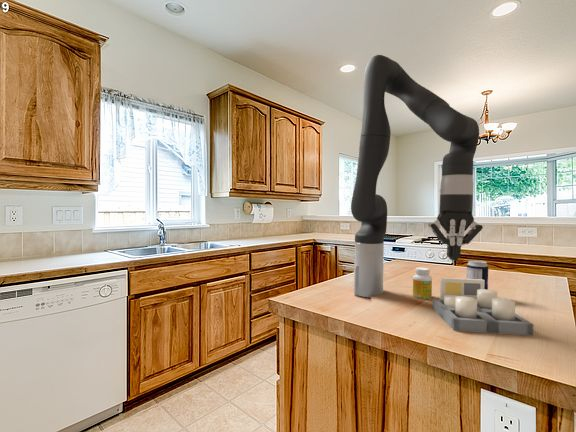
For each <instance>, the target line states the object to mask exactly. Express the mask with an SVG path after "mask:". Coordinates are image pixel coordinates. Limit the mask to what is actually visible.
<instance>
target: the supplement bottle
mask: <svg viewBox="0 0 576 432" xmlns="http://www.w3.org/2000/svg"><path fill="white" fill-rule="evenodd" d="M432 282H433V280H432V276H430V269H429V268H426V267H416V268H415V274H414V275H413V276H412V297H414V298H417V299H421V300H430V299H432V293H433V291H432V290H433V289H432V287H433V286H432V284H433V283H432Z"/></svg>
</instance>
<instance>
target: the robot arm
mask: <svg viewBox="0 0 576 432" xmlns="http://www.w3.org/2000/svg"><path fill="white" fill-rule="evenodd" d="M364 69H365V70H364V73H363V105H362V106H363V109H362V118H361V119H362V121H361V131H360V139H359V150H358V162H357V167H356V168H357V169H356V178H355V182H354V188H353V192H352V198H351V201H350V204H351V205H350V213H351V215H352V216H353V218H354V219H355V220H356V221H358V222H360V223H361V226H360V229H359V230H358V231H357V232H355V235H354V263H353V292H354V293H353V294H354V296H358V297H362V298H371V296H380V295H382V294H384V257H385V256H384V250H385V249H384V248H385V246H384V245H385V244H384V239H385V236H386V234H387V226H388V225H387V224H388V205H387V201H386V200H385V198H384V197H383V196H382V195H380V194H377V186H378V185H377V184H378V179H379V175H380V173H381V171H382V168H383V167H384V165H385V162H386V161H387V158H388V155H389V151H390V144H391V142H390V141H391V125H390V121H389V118H388V114H387V110H386V106H385V93H388V94H389V95H392V96H394V97H396V98H398V99H399V100H400V101H402V102H403V103H404V104H405V105H406V107H407V108H408V110H410V111H411V113H412V114H414V115H415V116H416V117H418V119H420V120H421V121H422V122H424V123H426V124H427V125H428V126H429V127H430V128H431V129H432V131H433V132H434V133H435V134H436V135H437V136H439V137H440V138H441V139H443V140H444V141H446V142H449V143H450V146H449V151H448V153H446V154H445V155H444V156H443V157H442V165H441V166H442V167H441V181H440V186H439V187H440V188H439V213H438V215H437V216H436V217H437V218H436V220H434V221H433V222H429V223H428V225H427V227H429V229H430V230H431V231H432V233H433V234H434V236H436V238H437V239H438V240H439V242H441V243H443V244H446V256H447V258H448V259H449V260H451V261H458V259H460V258H461V254H462V253H461V252H462V248H461V247H462V246H463V245H468V244H470V243H471V242H472V241H473V239H474V238H475V237H476V236H477V235H478V234H479V233H480V232H481V231H482V230H483V228H484V226H483V225H482V224H479V223H477V222H476V221H475V218H474V216H473V209H474V208H473V207H474V177H473V176H474V175H473V174H474V156H475V153H476V152H477V146H478V143H479V139H480V138H479V137H480V127H479V124H478V123H479V122H477V121H476V120H475V118H472V117H470V116H468V115H466V114H463V113H461V112H459V111H458V110H456V109H455V108H453V107H451V106H450V104H449V103H448V102H447V101H446V100H445V99H443V98H442V97H440V96H439V95H438V94H436V93H434V92H433V91H432V90H430V89H428V88H427V87H424V86H422V84H419V83H418V82H417V81H416V80H414V79H413V78H412V77H411V76H410V75H409V73H407V72H406V70H405V69H404V68H403V67H402V66H401V65H400V64H399V62H397V61H395V60H393V59H391V58H390V57H388V56H385V55H384V54H383V55H382V54H376V55H374V56H372V57H371V58H370V59H369V61H368V62H367V64H366V66H365V68H364ZM441 228H442V229H443V230H444V232H445V234H444V233H443V231H441V230H440V229H441ZM468 228H469V230H468V232H466V231H467V229H468ZM465 232H466V233H465Z"/></svg>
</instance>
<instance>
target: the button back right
mask: <svg viewBox="0 0 576 432" xmlns="http://www.w3.org/2000/svg"><path fill="white" fill-rule="evenodd" d="M493 298H498V291H495V290H491V289H488V290H487V289H478V290H477V306H478V307H480V308H483V309H492V299H493Z"/></svg>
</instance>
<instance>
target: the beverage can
mask: <svg viewBox="0 0 576 432" xmlns="http://www.w3.org/2000/svg"><path fill="white" fill-rule="evenodd" d="M466 279H481V280H485V284H484V289H487V290H489V265H488V263H487V261H483V260H476V259H475V260H473V259H472V260H471V259H470V260H468V262H467V264H466Z"/></svg>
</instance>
